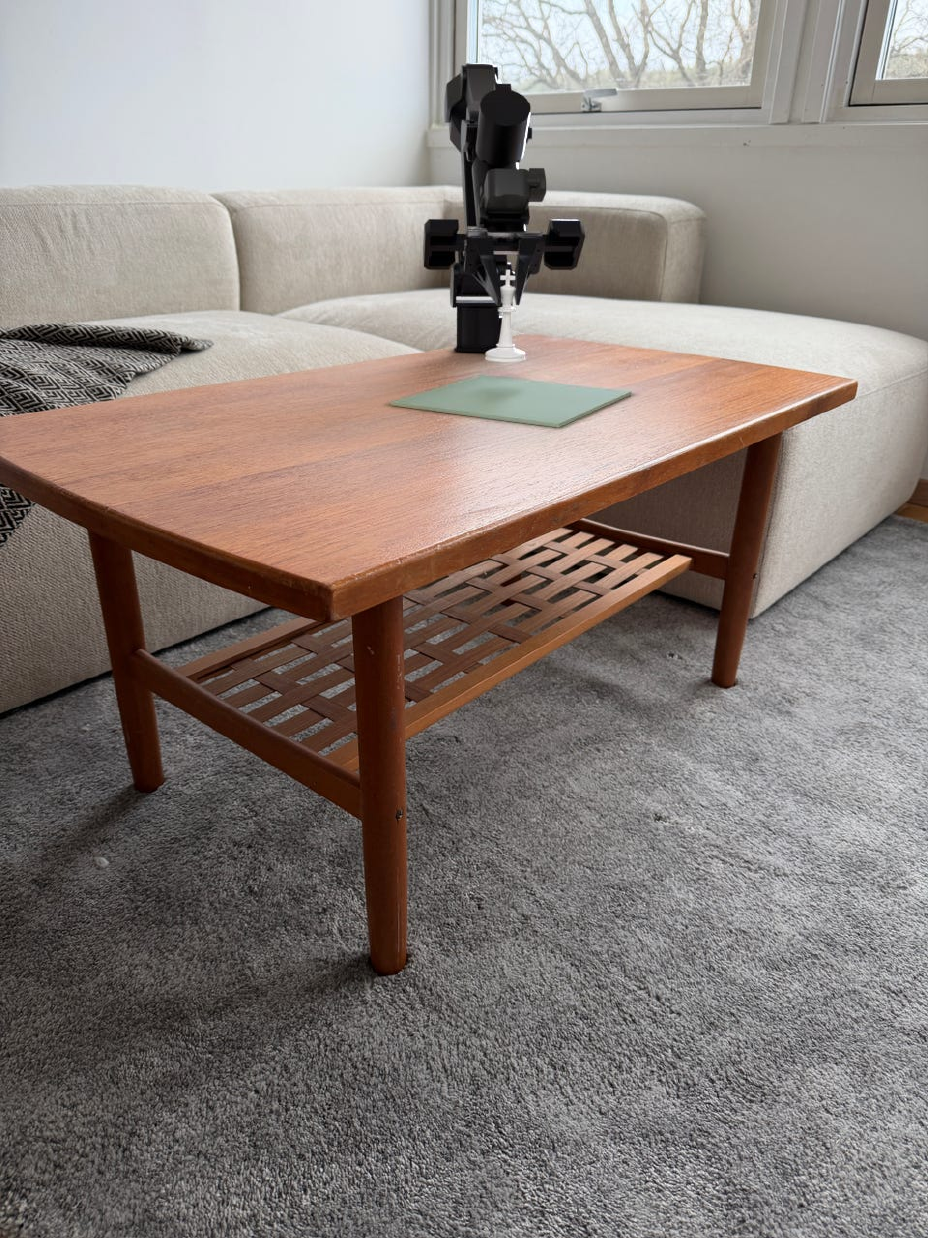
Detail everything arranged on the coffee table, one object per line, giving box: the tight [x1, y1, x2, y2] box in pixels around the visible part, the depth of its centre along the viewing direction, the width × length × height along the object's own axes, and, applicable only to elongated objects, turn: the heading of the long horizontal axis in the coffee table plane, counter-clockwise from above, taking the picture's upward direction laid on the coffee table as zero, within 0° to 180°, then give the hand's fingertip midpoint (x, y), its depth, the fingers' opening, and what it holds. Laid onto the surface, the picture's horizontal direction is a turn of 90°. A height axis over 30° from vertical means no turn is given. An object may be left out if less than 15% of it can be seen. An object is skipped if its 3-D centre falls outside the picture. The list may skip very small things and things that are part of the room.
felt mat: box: [390, 374, 632, 428], centre depth 102 cm, size 20×20×1 cm
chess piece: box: [484, 270, 527, 364], centre depth 107 cm, size 5×5×10 cm
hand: (508, 302), depth 105 cm, fingers closed on chess piece
